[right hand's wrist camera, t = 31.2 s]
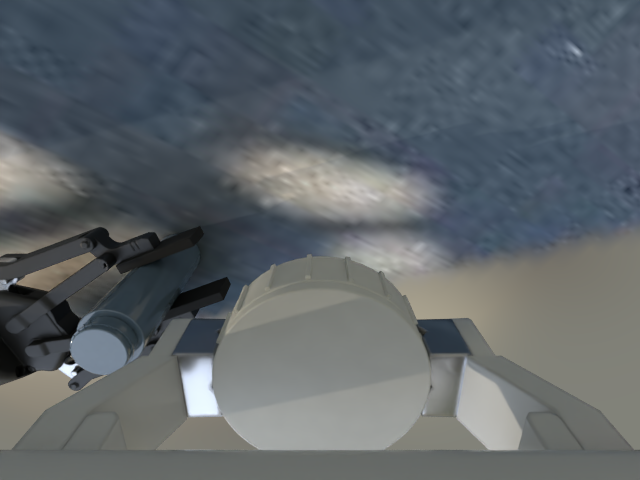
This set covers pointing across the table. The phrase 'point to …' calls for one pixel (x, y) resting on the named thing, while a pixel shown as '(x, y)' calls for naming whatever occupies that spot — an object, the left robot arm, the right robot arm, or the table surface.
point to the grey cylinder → (131, 313)
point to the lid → (321, 359)
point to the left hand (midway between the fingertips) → (211, 262)
